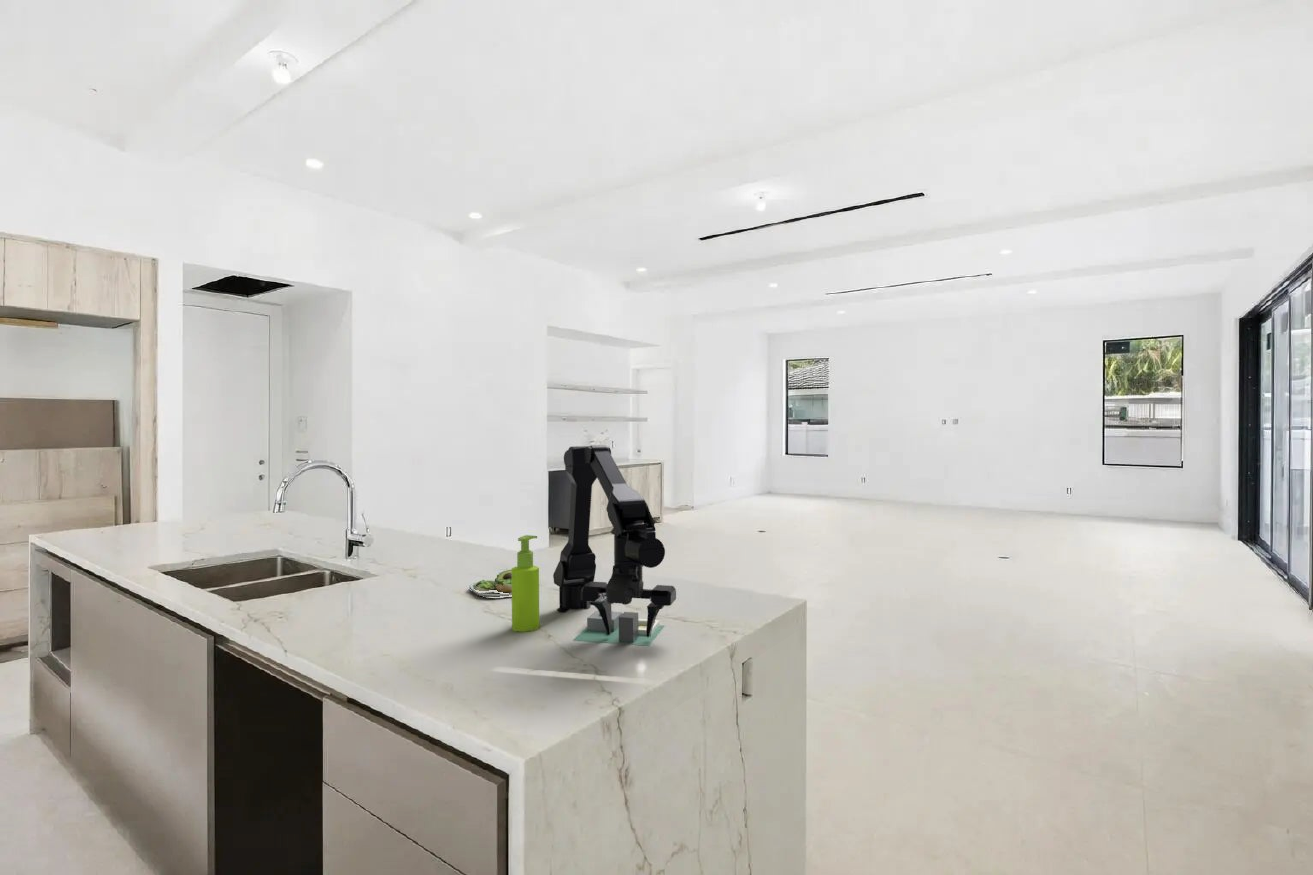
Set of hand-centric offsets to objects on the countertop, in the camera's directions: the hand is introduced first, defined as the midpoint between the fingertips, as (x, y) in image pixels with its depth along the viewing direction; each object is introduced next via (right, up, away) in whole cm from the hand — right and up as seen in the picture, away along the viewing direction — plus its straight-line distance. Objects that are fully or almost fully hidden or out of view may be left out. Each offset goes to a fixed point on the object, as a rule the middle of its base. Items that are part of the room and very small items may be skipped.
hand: (628, 635), depth 142 cm
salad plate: (-35, -1, +46) cm, 58 cm away
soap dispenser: (-23, -2, +12) cm, 26 cm away
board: (-2, -2, +5) cm, 5 cm away
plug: (0, -1, 0) cm, 1 cm away
